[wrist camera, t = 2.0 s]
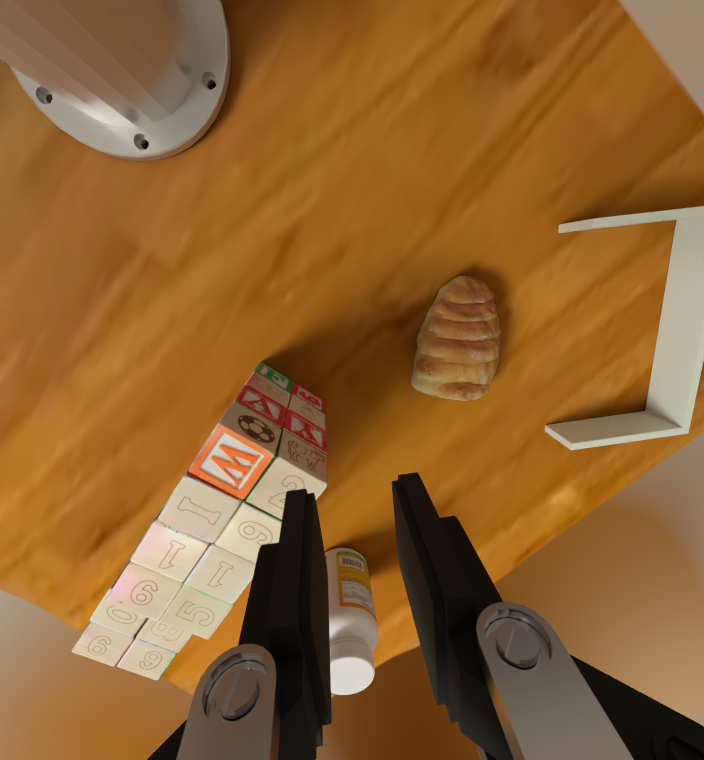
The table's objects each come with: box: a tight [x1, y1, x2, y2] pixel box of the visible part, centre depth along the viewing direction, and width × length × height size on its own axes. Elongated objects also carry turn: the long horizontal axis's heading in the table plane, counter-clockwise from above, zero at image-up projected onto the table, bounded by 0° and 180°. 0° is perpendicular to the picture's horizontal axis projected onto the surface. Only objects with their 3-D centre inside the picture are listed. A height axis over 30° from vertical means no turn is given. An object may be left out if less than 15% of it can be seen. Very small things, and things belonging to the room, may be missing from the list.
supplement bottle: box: [325, 548, 378, 695], centre depth 30 cm, size 5×5×10 cm
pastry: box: [411, 275, 501, 401], centre depth 27 cm, size 9×7×4 cm
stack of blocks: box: [72, 362, 328, 680], centre depth 25 cm, size 21×6×12 cm, turn 144°
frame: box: [545, 206, 704, 450], centre depth 28 cm, size 17×10×4 cm, turn 6°
